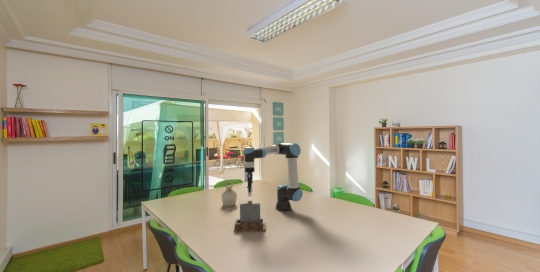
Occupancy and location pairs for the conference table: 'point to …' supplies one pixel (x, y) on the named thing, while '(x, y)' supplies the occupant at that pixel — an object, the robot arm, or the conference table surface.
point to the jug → (229, 196)
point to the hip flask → (250, 212)
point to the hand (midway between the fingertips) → (250, 193)
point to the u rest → (249, 226)
